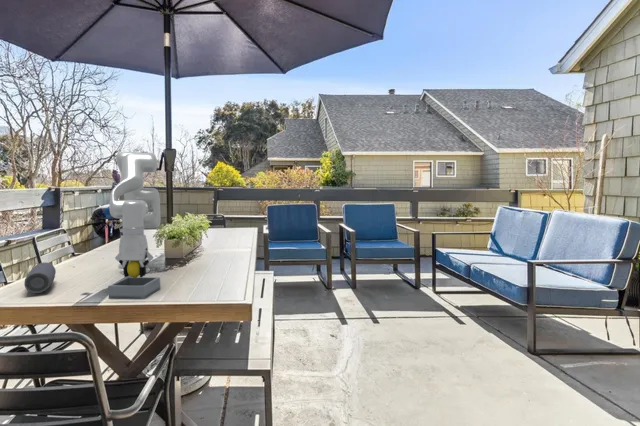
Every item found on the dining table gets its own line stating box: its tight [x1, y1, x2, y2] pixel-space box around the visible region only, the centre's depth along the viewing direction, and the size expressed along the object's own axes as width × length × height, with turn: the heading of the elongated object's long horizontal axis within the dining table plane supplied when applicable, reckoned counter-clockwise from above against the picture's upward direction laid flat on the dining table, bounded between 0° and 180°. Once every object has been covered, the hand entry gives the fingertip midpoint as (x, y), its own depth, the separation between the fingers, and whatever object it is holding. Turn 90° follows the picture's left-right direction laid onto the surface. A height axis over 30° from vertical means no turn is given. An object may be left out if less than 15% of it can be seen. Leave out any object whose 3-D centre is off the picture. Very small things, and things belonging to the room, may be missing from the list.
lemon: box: [127, 261, 141, 278], centre depth 152 cm, size 6×6×8 cm
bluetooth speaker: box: [23, 262, 57, 294], centre depth 159 cm, size 23×9×10 cm, turn 30°
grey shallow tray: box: [107, 276, 161, 300], centre depth 153 cm, size 14×14×5 cm
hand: (135, 275), depth 153 cm, fingers closed on lemon, 5 cm apart
